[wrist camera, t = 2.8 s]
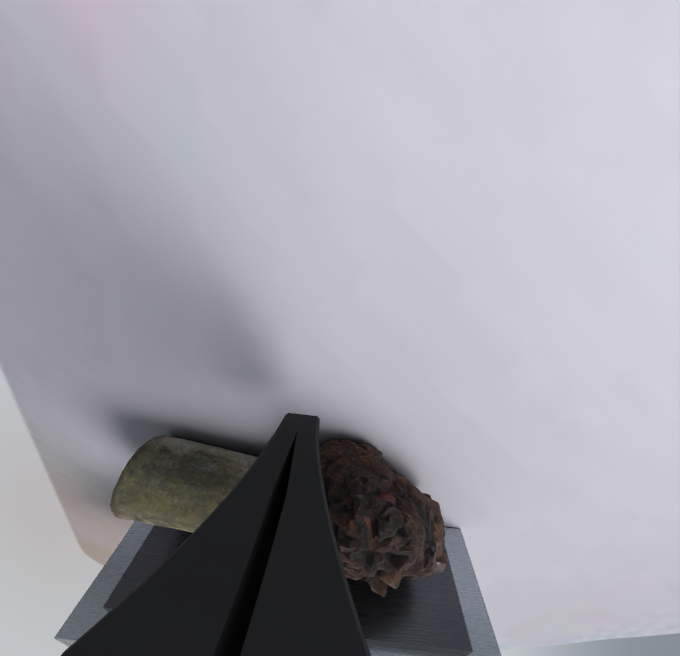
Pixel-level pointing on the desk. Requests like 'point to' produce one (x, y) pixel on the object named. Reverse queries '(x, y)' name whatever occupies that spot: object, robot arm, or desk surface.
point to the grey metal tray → (373, 609)
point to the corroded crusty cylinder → (341, 494)
